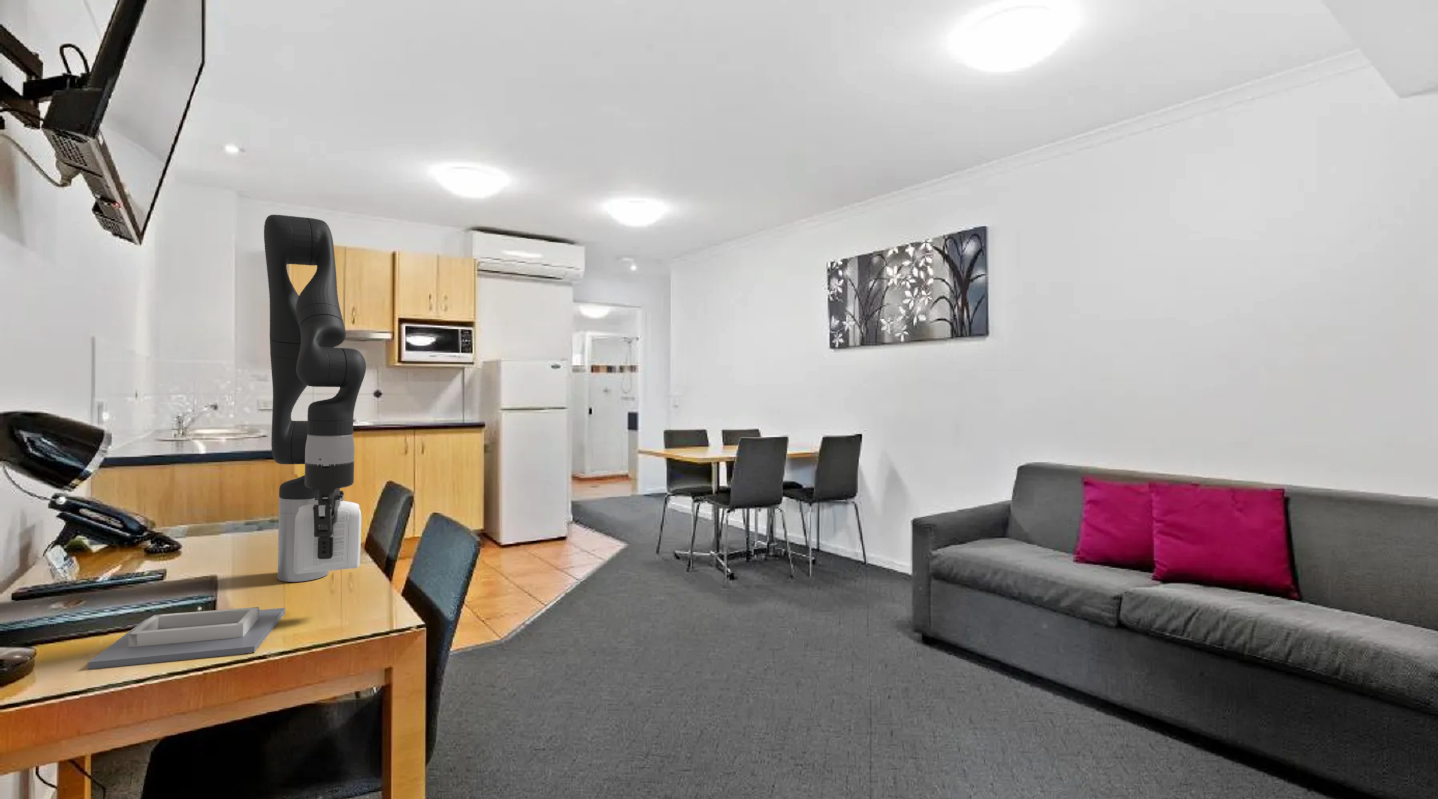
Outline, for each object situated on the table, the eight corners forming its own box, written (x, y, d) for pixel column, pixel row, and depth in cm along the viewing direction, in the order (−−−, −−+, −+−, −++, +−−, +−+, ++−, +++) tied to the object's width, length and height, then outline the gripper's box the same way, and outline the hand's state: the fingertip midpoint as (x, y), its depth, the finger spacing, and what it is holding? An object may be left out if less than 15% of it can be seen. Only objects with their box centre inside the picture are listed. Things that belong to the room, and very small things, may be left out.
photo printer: (359, 562, 121) (360, 496, 120) (361, 569, 117) (363, 501, 117) (293, 570, 115) (294, 500, 115) (293, 576, 111) (294, 505, 111)
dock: (146, 624, 110) (146, 607, 110) (284, 613, 117) (285, 596, 117) (88, 669, 93) (88, 648, 93) (254, 652, 100) (254, 633, 100)
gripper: (314, 454, 121) (312, 545, 121) (295, 465, 107) (294, 567, 108) (359, 454, 123) (357, 542, 124) (347, 465, 110) (345, 564, 111)
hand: (328, 553), depth 116 cm, fingers closed on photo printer, 5 cm apart
